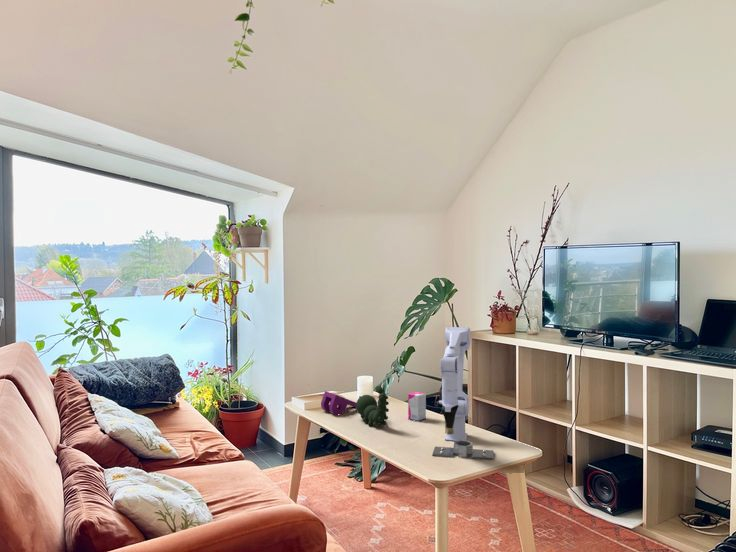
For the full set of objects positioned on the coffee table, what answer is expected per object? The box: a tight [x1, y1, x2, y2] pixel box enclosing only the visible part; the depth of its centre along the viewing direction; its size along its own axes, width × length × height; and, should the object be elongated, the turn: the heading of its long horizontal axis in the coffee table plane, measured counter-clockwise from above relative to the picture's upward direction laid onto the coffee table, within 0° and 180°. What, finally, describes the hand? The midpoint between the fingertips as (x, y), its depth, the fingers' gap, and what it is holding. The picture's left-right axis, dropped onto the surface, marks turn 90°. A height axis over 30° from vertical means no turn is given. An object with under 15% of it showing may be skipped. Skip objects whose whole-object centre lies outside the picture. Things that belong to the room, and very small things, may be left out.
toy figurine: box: [355, 385, 390, 427], centre depth 246 cm, size 9×19×25 cm
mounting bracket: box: [320, 391, 357, 416], centre depth 266 cm, size 9×8×18 cm
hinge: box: [432, 440, 495, 461], centre depth 206 cm, size 21×8×4 cm, turn 77°
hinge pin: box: [444, 422, 454, 435], centre depth 208 cm, size 3×3×8 cm
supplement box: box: [407, 391, 427, 422], centre depth 251 cm, size 6×6×12 cm
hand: (450, 426), depth 208 cm, fingers closed on hinge pin, 3 cm apart
